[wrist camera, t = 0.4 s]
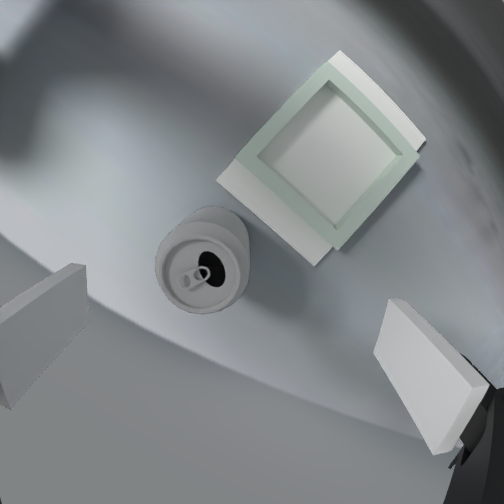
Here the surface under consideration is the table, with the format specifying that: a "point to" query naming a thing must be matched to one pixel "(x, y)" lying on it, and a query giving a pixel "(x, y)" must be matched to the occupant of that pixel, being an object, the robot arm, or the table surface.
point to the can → (205, 261)
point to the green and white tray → (324, 159)
